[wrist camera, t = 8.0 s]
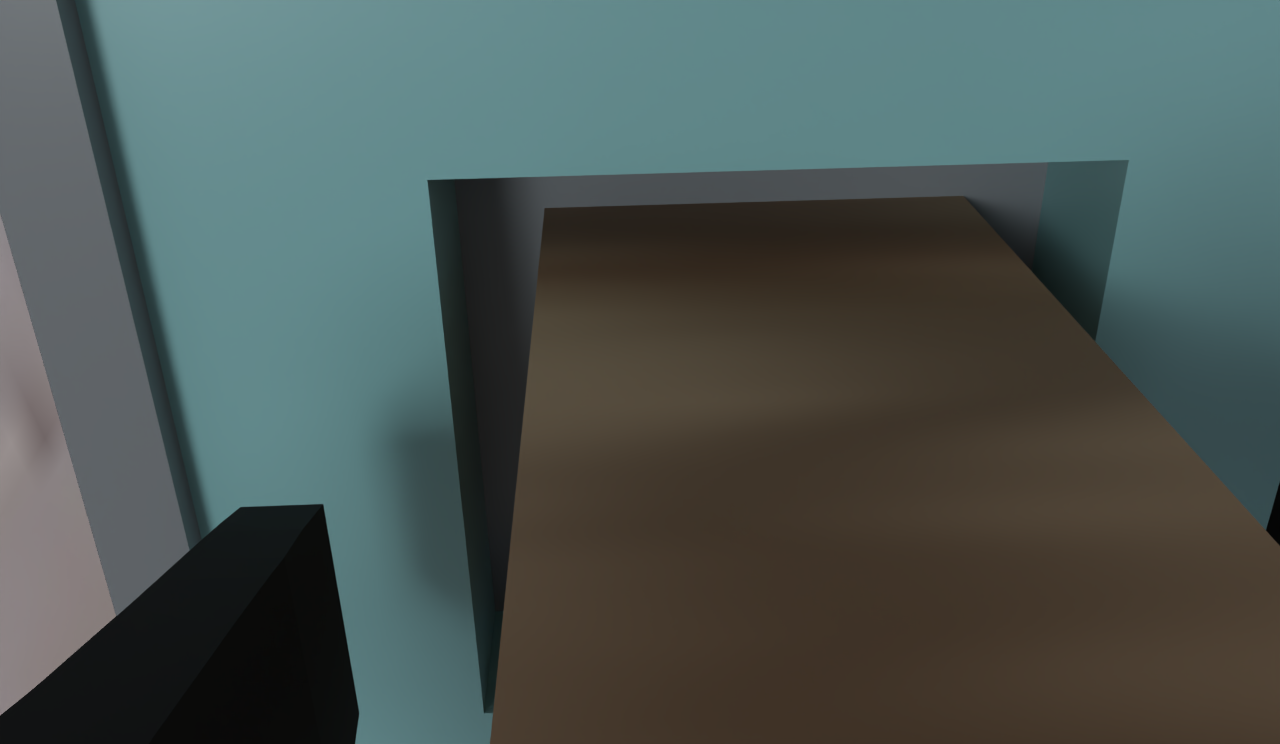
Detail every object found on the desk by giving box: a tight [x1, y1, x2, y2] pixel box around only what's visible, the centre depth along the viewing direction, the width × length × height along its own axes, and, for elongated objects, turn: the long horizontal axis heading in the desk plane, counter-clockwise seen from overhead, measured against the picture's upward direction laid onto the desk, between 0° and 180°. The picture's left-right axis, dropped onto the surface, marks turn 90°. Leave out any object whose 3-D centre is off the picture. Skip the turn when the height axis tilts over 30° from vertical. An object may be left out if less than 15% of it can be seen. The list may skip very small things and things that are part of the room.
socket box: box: [0, 0, 1280, 744], centre depth 11 cm, size 12×12×2 cm
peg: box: [490, 196, 1280, 744], centre depth 8 cm, size 4×4×8 cm
